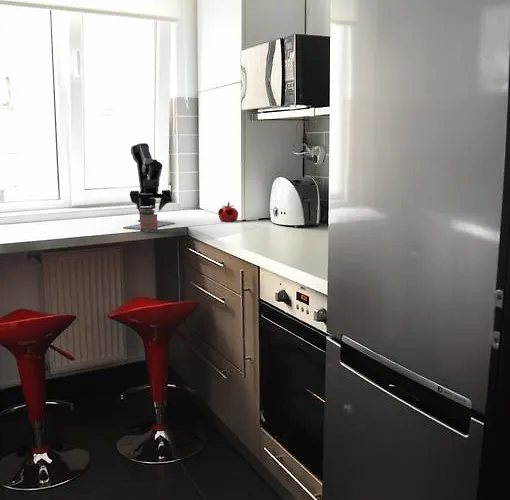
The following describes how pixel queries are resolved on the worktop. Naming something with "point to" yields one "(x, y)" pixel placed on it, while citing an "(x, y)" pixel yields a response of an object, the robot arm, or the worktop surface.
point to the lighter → (148, 221)
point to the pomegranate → (228, 213)
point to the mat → (140, 226)
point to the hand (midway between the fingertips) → (149, 210)
